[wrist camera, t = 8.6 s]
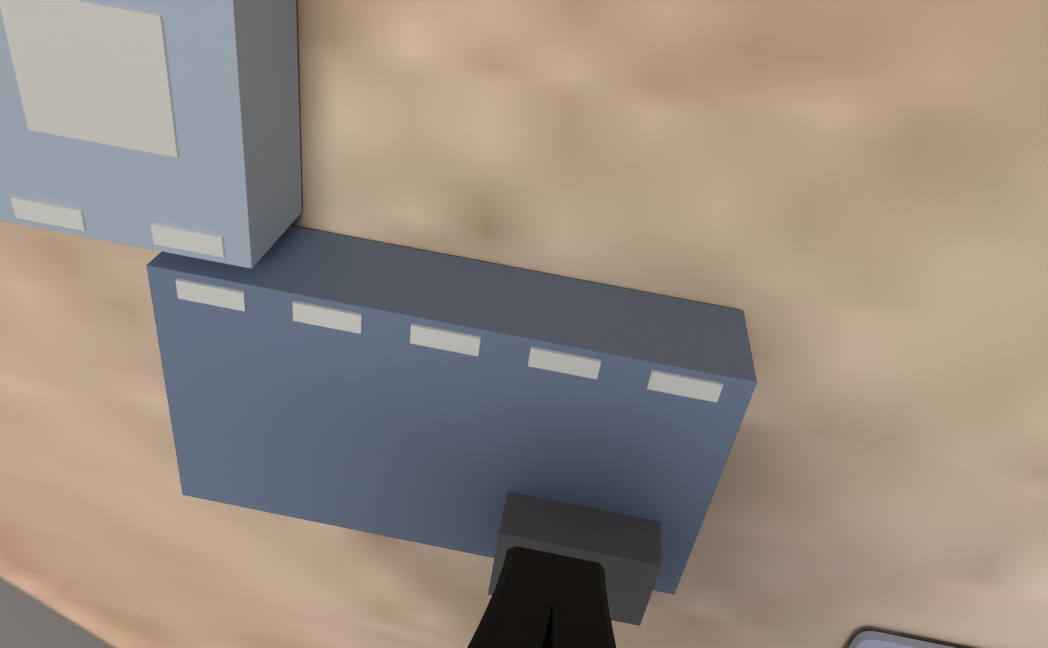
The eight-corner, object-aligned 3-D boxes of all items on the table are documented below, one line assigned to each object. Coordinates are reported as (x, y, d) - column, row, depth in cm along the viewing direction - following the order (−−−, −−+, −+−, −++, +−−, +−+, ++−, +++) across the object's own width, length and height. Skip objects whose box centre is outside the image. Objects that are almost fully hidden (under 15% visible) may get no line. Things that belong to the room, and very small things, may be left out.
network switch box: (743, 310, 20) (764, 423, 16) (671, 513, 24) (675, 639, 20) (208, 210, 20) (111, 296, 16) (230, 425, 24) (156, 532, 21)
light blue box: (294, -64, 16) (228, -41, 14) (302, 212, 20) (250, 270, 17) (19, -112, 16) (-97, -99, 14) (76, 169, 20) (-8, 221, 17)
